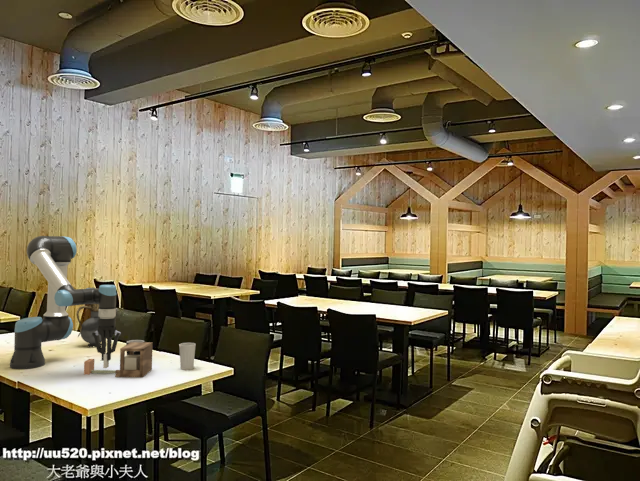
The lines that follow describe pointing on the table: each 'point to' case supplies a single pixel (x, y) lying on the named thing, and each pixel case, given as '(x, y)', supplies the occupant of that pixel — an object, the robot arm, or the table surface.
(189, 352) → the cup
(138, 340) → the mug
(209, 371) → the table surface
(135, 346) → the cubby
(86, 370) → the mismatched dumbbell
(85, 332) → the pitcher
